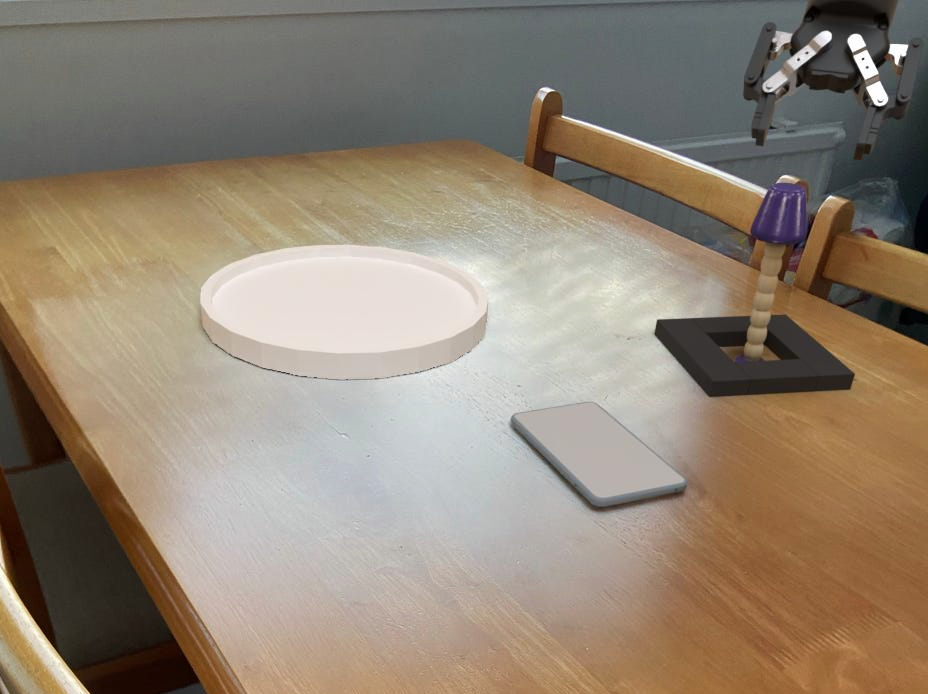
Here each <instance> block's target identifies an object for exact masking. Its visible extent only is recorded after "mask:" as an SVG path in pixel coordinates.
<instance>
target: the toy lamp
mask: <svg viewBox="0 0 928 694" xmlns="http://www.w3.org/2000/svg"><path fill="white" fill-rule="evenodd" d="M753 219H754V220H753V221H752V224H751V226H750V230H749V232H750V236H751V237H753V238H754V239H756V240H758V241H760V242H764V256H763V257H762V259H761V262H760V274H759V276H758V277H757V282H756V288H757V290H756V292H755V294H754V296H753V299H752V300H753V303H752V304H753V308H752V310H751V311H750V315H749V316H750V323H751V325H750V326H749V328H748V331H747V340H748V341H747V342H746V344H745V346H743V347H744V348H743V354H740V355H737V356H736V357H735V358H734V362H747V361H766V359H764V358H763V357H762V356H763V354H764V348H765V347H764V346H765V345H763V342H764V341H765V339H766V336H767V327H766V326H767V325H768V323H769V321H770V317H771V315H772V313H771V309H772V307H773V305H774V303H775V293H774V292H775V291H776V289H777V287H778V284H779V276H778V275H779V273H780V271H781V270H782V266H783V258H782V257H783V255H784V254H785V252H786V249H787V245H796V244H800V243H802V242H804V241H805V240H806V238H807V235H808V204H807V190H806V188H805V186H803V185H800V184H797V183H792V182H774V183H773V184H771V185H770V186H769V187H768V189H767V191H766V193H765V195H764V197H763V199H762V201H761V204H760V206H759V208H758V210H757V213H756V214H755V217H754V218H753Z"/></svg>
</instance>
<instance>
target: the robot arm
mask: <svg viewBox="0 0 928 694" xmlns="http://www.w3.org/2000/svg"><path fill="white" fill-rule="evenodd" d="M898 3H899V0H808V1H807V3H806V7H805V11H804V14H803V17H802V20H801V23H800V25H799V27H798V28H796V30H795V31H794V32H786V31H781V30H780V31H779V30H777V25H776V23H775V22H773V21H768V22H766V23H764V24H763V26H762V28H761V31H760V34H759V36H758V39H757V41H756V43H755V47H754V49H753V52H752V55H751V57H750V59H749V63H748V65H747V68H746V70H745V73H744V76H743V90H742V96H743V97H742V98H743V99H744V100H745V101H749V102H750V101H754V102H755V103H757V104H756V108H755V111H754V115H753V118H752V121H751V129H750V130H751V131H750V134H751V135H750V136H751V139H754V140H755V146H757V147H764V146H765V143H766V140H767V137H768V133H769V130H770V127H771V124H772V121H773V117H774V114H775V110H776V109H775V108H776V105H778V104H779V103H780V102H782V101H783V100H784V99H786V98H787V97H788V98H790V97H792V96H794V95H795V94H796V93H798V91H800V90H801V89H802V88H803V87H805V86H808V90H812V91H824V90H825V91H826V90H827V91H831V92H833V93H835V94H843V95H844V94H845V93H846V91H851V92H852V94H853V96H854V98H855V100H856V102H857V105H859V106H860V107H862V109H863V110H864V113H865V116H864V119H863V123H862V126H861V130H860V133H859V136H858V140H857V142H856V145H855V146H856V147H855V151H854V155H853V158H852V159H853V160H856V161H862V160H863V156H864V155H871V153H872V152H873V150H874V148H875V144H876V142H877V138H878V135H879V132H880V128H881V124H882V123H883V122H884V121H885V120H888V119H892V118H893V119H894V120H897V121H900V120H903V119H905V118H906V116H907V113H908V110H909V106H910V102H911V101H912V97H913V95H914V94H913V92H914V89H915V84H916V79H917V76H918V70H919V66H920V62H921V57H922V53H923V48H924V40H923V39H922V38H920V37H913V38H912V39H911V40H909V41H908V43H907V44H903V43H902V44H901V43H891V41H890V38H889V33H890V31H891V27H892V24H893V21H894V17H895V14H896V11H897V7H898ZM784 51H789V56H790V57H789V58H788V59H787V60H785V62H783V64H782V66H781V67H780V69H779V70H778V71H777V72H775V73H774V74H772V75H771V76H770V77H769V78H767V79H764V77H765V74H766V71H767V69H768V66H769V64H770V61H771V62H774V61H775V60H776V59H777V58H778V57H780V55H781V54H782V52H784ZM886 62H889V63H891V64H892V70H893V72H894V73H895V75H896V76H899V80H898V85H897V90H896V93H893V94H889V95H888V94H887V92H886V91H885V88H884V86H883V84H882V82H881V79H880V73H879V71H878V70H879V69H880V68H881V67H882V66H884V65H885V64H886Z"/></svg>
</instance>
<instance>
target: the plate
mask: <svg viewBox="0 0 928 694" xmlns="http://www.w3.org/2000/svg"><path fill="white" fill-rule="evenodd" d="M199 297H200V298H199V299H200V300H199V306H200V314H201V323H202V327H203V326H204V328H205V330H206V331H207V333H208V335H209V336H210V338H211V339H212V341H213V342H215V343H216V344H218V345H219V346H220V347H222V348H223V349H224V350H226V351H228V352H229V353H230V354H231V355H233V356H235V357H238V358H241V359H243V360H245V361H248V362H250V363H254V364H255V365H258V366H261V367H263V368H267V369H273V370H277V371H281V372H286V373H290V374H289V375H291V374H293V375H292V376H295V375H298V376H297V377H301V376H307V377H306V378H314V377H317V378H316V379H326V378H327V379H326V380H337V379H338V381H345V380H346V379H348V380H376V379H375V378H379V379H388V378H392V377H391V376H394V377H398V376H397V375H400V376H404V375H403V374H407V375H410V374H409V373H413V374H416V373H415V372H419V373H421V372H420V371H423V370H426V369H429V370H431V369H430V368H432V369H434V368H433V367H435V368H437V367H436V366H439V367H441V366H440V365H442V366H444V365H443V364H445V365H448V364H451V363H452V362H454V361H456V360H457V359H456V358H458V357H460V356H461V355H463V356H465V355H466V354H465V353H467V352H469V351H470V352H472V351H473V350H474V349H475V348H476V347H477V346H478V344H479V343H480V342H481V341H482V340H483V339H484V338H485V336H486V329H487V324H488V313H489V312H488V310H489V295H488V294H487V291H486V289H485V288H484V286H483V284H482V283H481V282H480V281H479V280H477V279H476V278H475V277H474V276H472V275H471V274H470V273H469V272H468V271H466V270H464V269H462V268H459V267H457V266H455V265H453V264H451V263H449V262H447V261H445V260H442V259H439V258H435V257H432V256H428V255H426V254H425V255H424V254H422V253H418V252H414V251H408V250H402V249H396V248H390V247H384V246H371V245H359V244H315V245H303V246H296V247H295V246H294V247H285V248H280V249H275V250H270V251H266V252H260V253H256V254H253V255H251V256H248V257H244V258H242V259H239V260H236V261H233V262H231V263H229V264H227V265H225V266H224V267H222V268H221V269H218V270H217V271H215V272H214V273H212V274H211V275H210V276H209V277H208V279H207V280H206V281H205V282H204V284H203V285H202V287H200V296H199ZM486 323H487V324H486ZM208 335H207V336H208ZM483 337H484V338H483ZM210 338H209V339H210ZM482 338H483V339H482ZM481 339H482V340H481ZM480 340H481V341H480ZM212 341H211V342H212ZM478 342H479V343H478ZM475 346H476V347H475ZM474 347H475V348H474ZM473 348H474V349H473ZM472 349H473V350H472ZM471 350H472V351H471ZM470 352H469V353H470ZM464 354H465V355H464ZM467 354H468V353H467ZM231 355H230V356H231ZM461 357H462V356H461ZM461 357H460V358H461ZM455 359H456V360H455ZM458 359H459V358H458ZM453 360H454V361H453ZM451 361H452V362H451ZM450 362H451V363H450ZM250 363H249V364H250ZM447 363H448V364H447ZM255 365H254V366H255ZM267 369H266V370H267ZM277 371H276V372H277ZM426 371H427V370H426ZM281 372H280V373H281ZM423 372H424V371H423ZM286 373H285V374H286ZM387 377H388V378H387ZM314 379H315V378H314ZM346 381H347V380H346Z"/></svg>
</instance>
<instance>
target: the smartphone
mask: <svg viewBox="0 0 928 694" xmlns="http://www.w3.org/2000/svg"><path fill="white" fill-rule="evenodd" d="M510 424H511V425H512V426H513V427H514V428H515V429H516V431H518V432H519V433H520V434H521V435H522V436H523V437H524V438H525V439H526V440H527V441H528V442H529V443H530V444H531V445H532V446H533V447H534V448H535V449H536V450H537V451H538V452H539V453H540V454H541V456H543V457H544V458H545V459H546V460H547V461H548V462H549V463H550V464H551V466H553V467H554V468H555V469H556V470H557V471H558V472H559V473H560V474H561V476H563V478H565V479H566V480H567V481H568V482H569V483H570V484H571V485H572V486H573V487H574V488H575V489H576V490H577V491H578V492H579V493H580V494H581V495H582V496H583V497H584V498H585V499H587V501H588V502H589V503H590V504H591V505H593V506H595V507H599V508H600V507H601V508H605V507H611V506H616V505H621V504H626V503H630V502H635V501H640V500H645V499H650V498H657V497H661V496H666V495H671V494H676V493H679V492H681V493H682V492H683V491H685V490H686V489H687V487H688V480H687V478H686V477H685V476H683V475H682V474H681V473H680V471H678V470H676V469H675V468H674V467H673V466H672V465H670V464H669V462H667V461H666V460H665V459H663V458H662V457H661V456H660V455H659V454H658V453H656V451H654V450H653V449H651V448H650V447H649V446H648V445H647V444H646V443H645V442H643V441H642V440H641V439H639V437H638V436H636V435H635V434H634V433H633V432H632V431H631V430H629V429H628V428H627V427H625V425H624V424H622V423H621V422H620V421H618V420H617V419H616V418H615V417H614V416H613V415H611V414H610V413H609V412H608V411H606V410H605V409H604V408H603V407H602V406H601V405H600V404H598V403H596V402H593V401H584V402H578V403H570V404H564V405H558V406H551V407H546V408H539V409H533V410H527V411H521V412H520V411H519V412H516V413H513V414H512V415H511V416H510Z"/></svg>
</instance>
